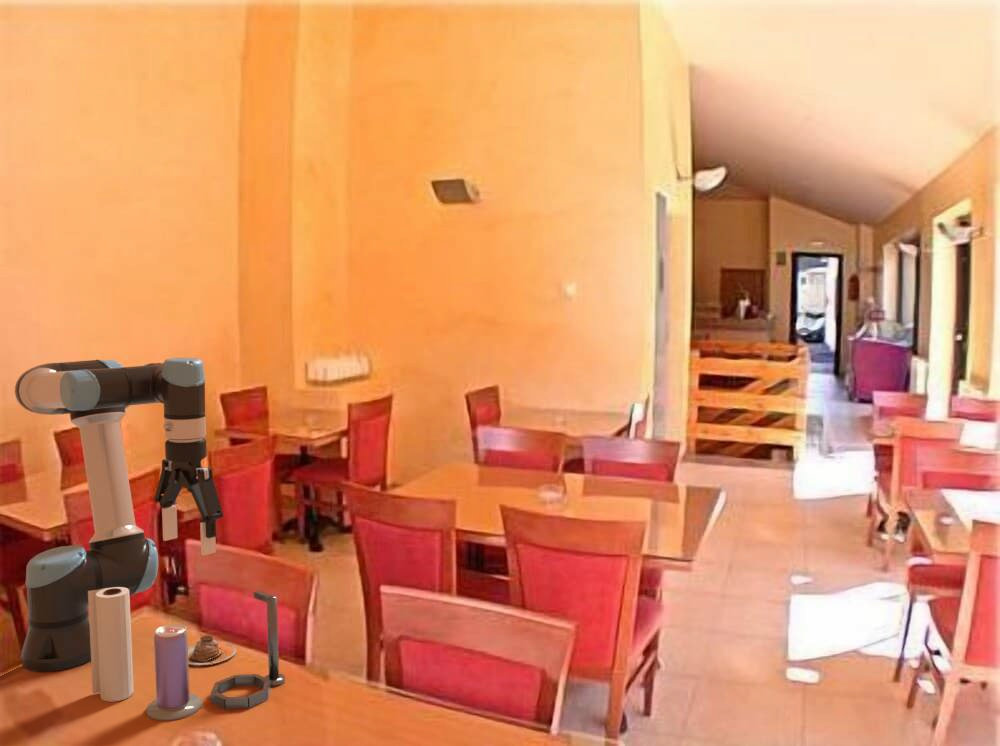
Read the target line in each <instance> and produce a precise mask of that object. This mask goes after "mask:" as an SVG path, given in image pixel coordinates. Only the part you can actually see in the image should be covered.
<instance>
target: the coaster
mask: <svg viewBox="0 0 1000 746" xmlns="http://www.w3.org/2000/svg"><path fill="white" fill-rule="evenodd" d="M202 704H203V703H202V698H201V697H200V696H198V695H196V694H194V693H190V700H189V702H188V704H187V705H186V706H185V707H183V708H181V709H179V710H174V711H164V710H161V709H160V708H159V707H158V706H157V698H156V699H154V700H152V701H151V702H150V703H148V704H147V706H146V709H145V711H146V712H145V713H146V715H147V716H148V718H150V719H151V720H155V721H177V720H180V719H184V718H188V717H189V716H191V715H194V714H195V713H197V712H198V711H199V710H200V709H201V707H202Z"/></svg>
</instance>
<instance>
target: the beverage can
mask: <svg viewBox="0 0 1000 746" xmlns="http://www.w3.org/2000/svg"><path fill="white" fill-rule="evenodd" d="M153 640H154V641H153V643H154V646H153V647H154V669H155V691H156V694H155V695H156V696H155V697H156V699H157V706H158V707H159V708H160V709H161V710H164V711H174V710H179V709H181V708H183V707H185V706H186V705H187V704H188V702H189V700H190V694H191V693H190V692H191V691H190V675H189V674H190V671H189V667H190V666H189V664H188V647H189V643H188V640H189V639H188V631H187V627H186V625H184V624H179V623H171V624H165V625H162V626H159V627H158V628H156V629H155V630H154V636H153Z"/></svg>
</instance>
